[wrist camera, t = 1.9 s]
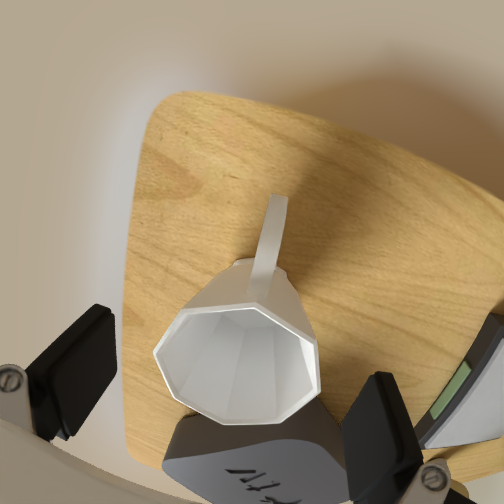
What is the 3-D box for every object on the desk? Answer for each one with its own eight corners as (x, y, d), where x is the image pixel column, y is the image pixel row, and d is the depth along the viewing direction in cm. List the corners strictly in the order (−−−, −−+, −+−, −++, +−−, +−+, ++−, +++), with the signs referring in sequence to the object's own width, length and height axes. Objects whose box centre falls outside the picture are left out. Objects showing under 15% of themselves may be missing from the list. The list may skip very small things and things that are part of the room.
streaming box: (363, 455, 24) (369, 494, 19) (246, 484, 28) (241, 518, 23) (305, 376, 21) (307, 429, 16) (165, 420, 24) (148, 461, 20)
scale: (487, 311, 17) (503, 328, 15) (561, 328, 17) (573, 340, 15) (404, 436, 23) (410, 455, 20) (493, 428, 22) (500, 441, 20)
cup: (194, 320, 20) (151, 405, 12) (219, 172, 16) (165, 191, 9) (294, 344, 20) (294, 439, 12) (340, 201, 16) (385, 244, 9)
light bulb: (419, 455, 24) (436, 523, 14) (461, 444, 23) (483, 504, 14) (401, 479, 26) (413, 539, 17) (441, 469, 25) (457, 524, 16)
